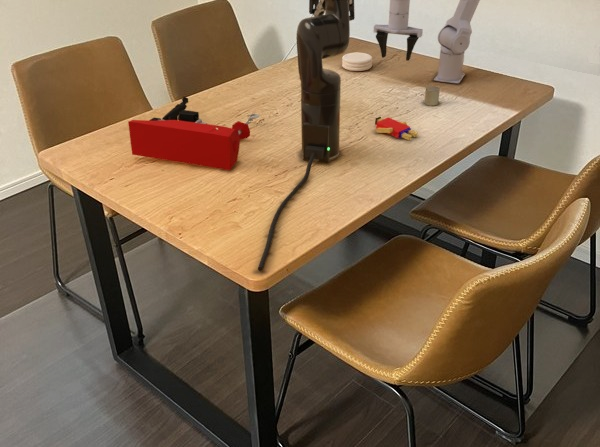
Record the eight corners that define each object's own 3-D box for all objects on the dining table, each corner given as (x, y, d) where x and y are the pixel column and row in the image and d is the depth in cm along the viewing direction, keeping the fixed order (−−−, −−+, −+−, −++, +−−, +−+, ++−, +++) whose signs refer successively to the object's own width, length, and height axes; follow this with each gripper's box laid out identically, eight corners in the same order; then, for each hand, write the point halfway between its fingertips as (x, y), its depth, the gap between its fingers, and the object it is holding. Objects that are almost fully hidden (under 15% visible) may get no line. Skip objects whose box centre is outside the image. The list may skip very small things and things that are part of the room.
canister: (440, 105, 179) (442, 90, 177) (427, 106, 178) (429, 91, 176) (434, 100, 182) (436, 85, 180) (422, 101, 182) (423, 86, 179)
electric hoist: (177, 78, 171) (124, 120, 146) (270, 90, 165) (231, 136, 141) (180, 112, 176) (129, 158, 152) (269, 125, 171) (232, 175, 146)
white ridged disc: (357, 73, 202) (357, 63, 200) (335, 66, 209) (336, 56, 207) (378, 66, 208) (378, 56, 206) (356, 60, 214) (357, 50, 212)
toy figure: (421, 128, 160) (386, 113, 167) (405, 136, 156) (369, 120, 163) (420, 136, 162) (385, 121, 169) (404, 144, 158) (368, 128, 165)
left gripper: (362, -31, 152) (361, 36, 161) (322, -37, 161) (322, 27, 170) (341, -27, 148) (340, 41, 156) (300, -33, 157) (302, 32, 166)
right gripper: (371, 13, 181) (368, 59, 188) (419, 17, 176) (415, 64, 183) (378, 7, 186) (376, 52, 194) (426, 12, 181) (421, 58, 188)
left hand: (331, 34), depth 163 cm, fingers open, 8 cm apart
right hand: (395, 58), depth 189 cm, fingers open, 7 cm apart
